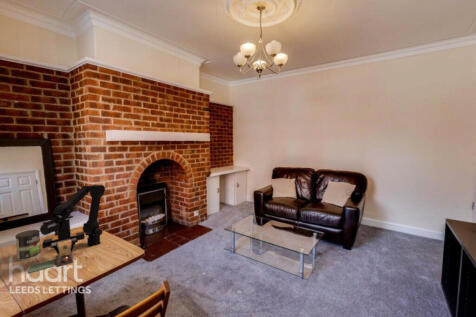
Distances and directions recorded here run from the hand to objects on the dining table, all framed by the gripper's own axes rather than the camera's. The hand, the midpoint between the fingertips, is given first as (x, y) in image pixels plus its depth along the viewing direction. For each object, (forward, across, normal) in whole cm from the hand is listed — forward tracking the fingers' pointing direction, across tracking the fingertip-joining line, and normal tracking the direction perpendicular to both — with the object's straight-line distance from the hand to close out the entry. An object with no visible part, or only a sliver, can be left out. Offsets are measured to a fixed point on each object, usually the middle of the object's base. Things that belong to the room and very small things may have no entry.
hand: (65, 253), depth 125 cm
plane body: (+3, 0, 0) cm, 3 cm away
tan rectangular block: (-1, 0, 0) cm, 1 cm away
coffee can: (+4, +17, -18) cm, 25 cm away
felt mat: (+3, +10, +2) cm, 11 cm away
